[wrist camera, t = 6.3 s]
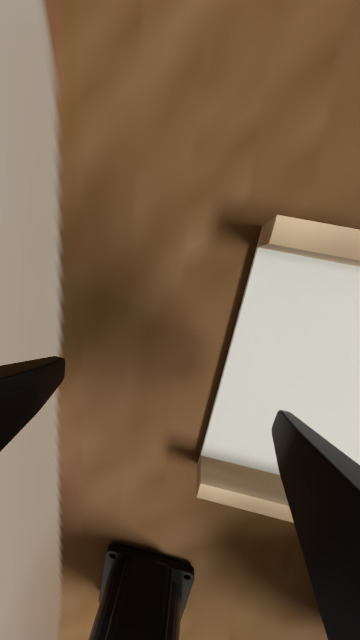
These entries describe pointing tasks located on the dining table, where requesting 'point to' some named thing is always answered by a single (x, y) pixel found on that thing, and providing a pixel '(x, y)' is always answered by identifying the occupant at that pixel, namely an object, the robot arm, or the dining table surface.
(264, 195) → the dining table surface
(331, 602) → the robot arm
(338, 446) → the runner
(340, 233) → the lane rails
